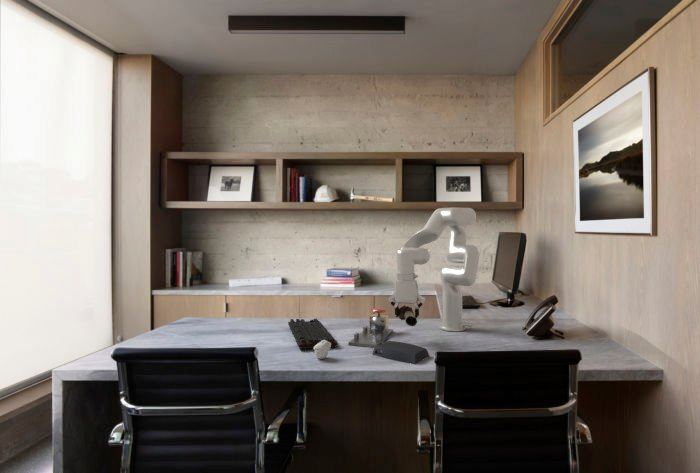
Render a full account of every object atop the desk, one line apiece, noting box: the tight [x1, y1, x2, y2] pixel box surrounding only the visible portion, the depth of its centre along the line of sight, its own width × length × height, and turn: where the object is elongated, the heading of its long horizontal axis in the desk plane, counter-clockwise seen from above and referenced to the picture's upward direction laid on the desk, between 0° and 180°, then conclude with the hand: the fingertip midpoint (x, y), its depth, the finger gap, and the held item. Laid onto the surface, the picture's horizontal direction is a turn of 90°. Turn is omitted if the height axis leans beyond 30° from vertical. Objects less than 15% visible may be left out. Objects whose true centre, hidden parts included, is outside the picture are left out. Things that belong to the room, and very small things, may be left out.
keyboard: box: [287, 318, 339, 352], centre depth 185 cm, size 42×16×5 cm, turn 15°
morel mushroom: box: [398, 305, 418, 327], centre depth 173 cm, size 18×7×6 cm, turn 177°
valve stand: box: [348, 307, 394, 349], centre depth 182 cm, size 13×29×11 cm, turn 160°
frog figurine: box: [313, 340, 331, 360], centre depth 153 cm, size 6×7×7 cm
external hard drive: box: [371, 340, 430, 365], centre depth 156 cm, size 13×19×4 cm
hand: (406, 316), depth 175 cm, fingers closed on morel mushroom, 7 cm apart
